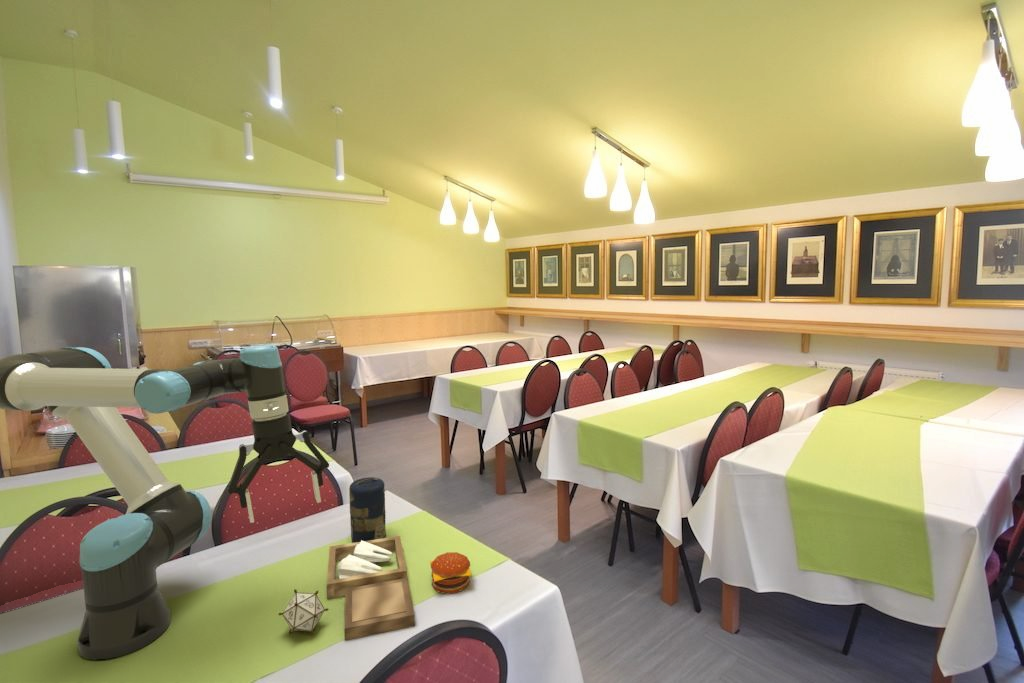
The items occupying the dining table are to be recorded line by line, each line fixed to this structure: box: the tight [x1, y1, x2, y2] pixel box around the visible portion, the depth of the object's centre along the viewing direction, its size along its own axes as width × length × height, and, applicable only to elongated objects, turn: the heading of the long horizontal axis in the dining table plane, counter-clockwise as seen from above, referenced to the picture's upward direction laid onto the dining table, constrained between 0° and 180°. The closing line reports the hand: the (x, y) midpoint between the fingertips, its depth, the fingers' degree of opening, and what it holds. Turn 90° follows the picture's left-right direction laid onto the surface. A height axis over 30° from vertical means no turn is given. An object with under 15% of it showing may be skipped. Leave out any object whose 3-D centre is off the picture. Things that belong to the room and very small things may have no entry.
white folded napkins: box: [336, 540, 394, 579], centre depth 126 cm, size 12×4×11 cm
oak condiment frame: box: [326, 535, 408, 600], centre depth 126 cm, size 18×18×4 cm
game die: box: [277, 588, 330, 636], centre depth 105 cm, size 9×8×10 cm
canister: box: [348, 477, 387, 543], centre depth 140 cm, size 10×10×18 cm
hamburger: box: [429, 551, 472, 594], centre depth 121 cm, size 9×10×7 cm
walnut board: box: [343, 577, 416, 641], centre depth 110 cm, size 14×14×3 cm
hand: (286, 510), depth 111 cm, fingers open, 13 cm apart
